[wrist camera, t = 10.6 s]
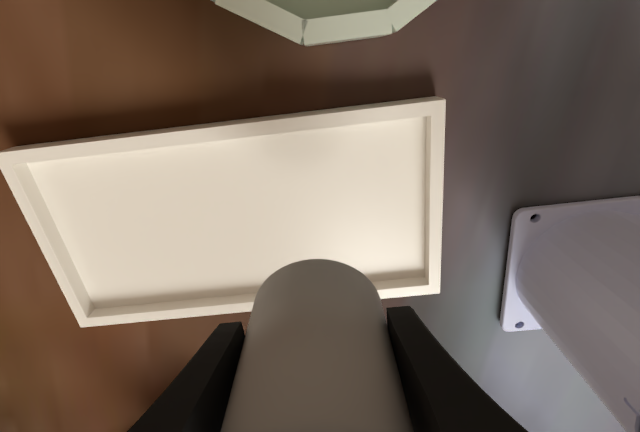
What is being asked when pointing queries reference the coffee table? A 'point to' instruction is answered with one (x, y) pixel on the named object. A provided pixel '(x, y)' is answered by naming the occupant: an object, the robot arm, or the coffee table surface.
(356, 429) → the pebble
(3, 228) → the coffee table surface
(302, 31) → the celadon bowl
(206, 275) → the parts tray
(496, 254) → the coffee table surface
